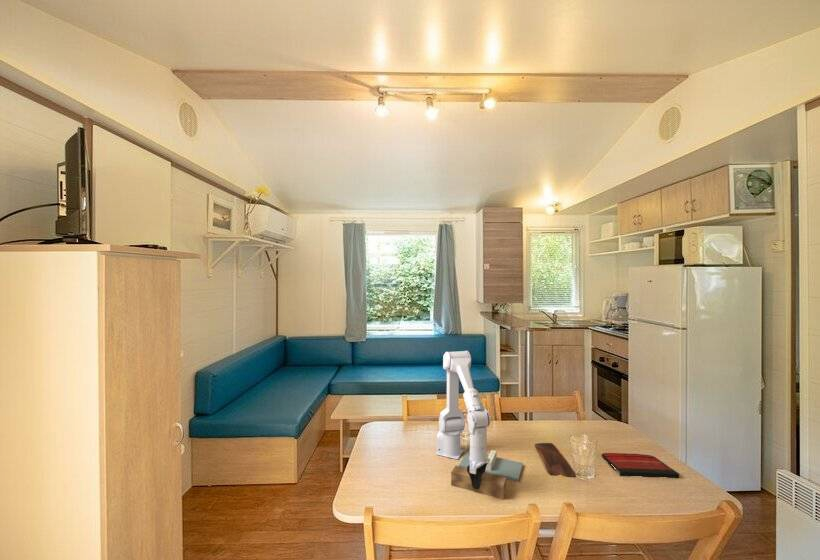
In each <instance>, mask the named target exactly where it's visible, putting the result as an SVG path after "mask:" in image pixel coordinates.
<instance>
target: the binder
mask: <svg viewBox="0 0 820 560" xmlns="http://www.w3.org/2000/svg"><path fill="white" fill-rule="evenodd" d="M601 457H602V458H603V459H604V461H605V460H606V461H607V462H608V463H607V462H606V461H605V462H606V463H607V464H608V465H609V466H610V468H611V469H612V470H614V467H615V468H616V471H618V472H619V477H630V476H642V477H641V478H659V477H667V478H666V479H680V473H679V472H677V471H676V470H675V469H673V468H671V467H670V466H668V465H667V464H666V463H664V462H663V461H662V460H660V459H659V458H657V457H655V456H653V455H650V454H641V453H625V452H624V453H621V452H620V453H619V452H603V453H602V454H601ZM611 464H612V465H613V466H614V467H613V466H612V465H611Z"/></svg>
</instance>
